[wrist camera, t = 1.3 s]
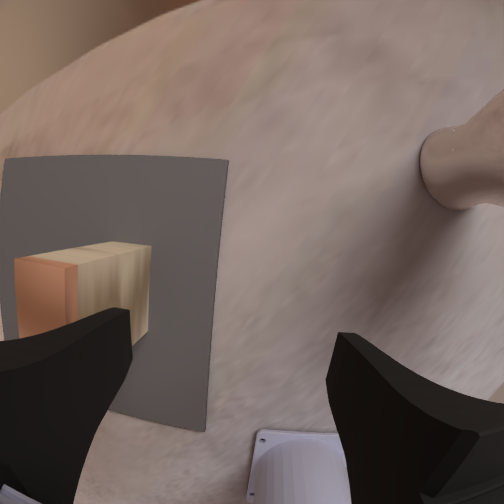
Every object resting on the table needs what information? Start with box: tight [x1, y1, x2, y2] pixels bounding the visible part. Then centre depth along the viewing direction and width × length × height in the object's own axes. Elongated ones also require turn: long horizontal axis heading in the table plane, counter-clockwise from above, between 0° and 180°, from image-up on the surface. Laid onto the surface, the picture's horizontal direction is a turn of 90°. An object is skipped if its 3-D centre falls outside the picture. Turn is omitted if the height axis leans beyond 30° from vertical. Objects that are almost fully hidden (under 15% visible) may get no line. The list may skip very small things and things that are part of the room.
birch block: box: [14, 241, 152, 346], centre depth 16 cm, size 6×3×10 cm, turn 174°
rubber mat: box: [0, 155, 229, 432], centre depth 22 cm, size 20×20×1 cm
